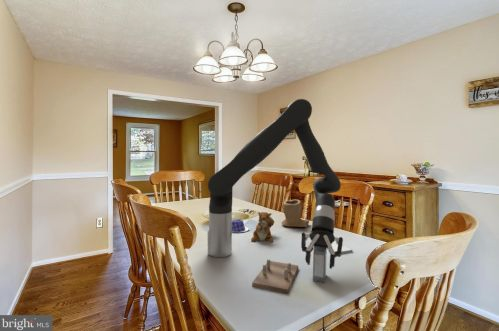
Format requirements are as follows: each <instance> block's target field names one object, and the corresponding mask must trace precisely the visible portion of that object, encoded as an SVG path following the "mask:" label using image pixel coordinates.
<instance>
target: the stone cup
mask: <svg viewBox="0 0 499 331" xmlns="http://www.w3.org/2000/svg"><path fill="white" fill-rule="evenodd" d="M282 211H283V215H284V217H285V219H284V220H283V221H282V222H281V225H282V226H284V227H292V228H293V227H294V228H307V227H308V225H309V224H310V220H308V219H302V218H301V217H302V211H303V204H302V202H301V200H299V199H287V200H285V201H284V202H282Z"/></svg>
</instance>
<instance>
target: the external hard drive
mask: <svg viewBox="0 0 499 331" xmlns="http://www.w3.org/2000/svg"><path fill="white" fill-rule="evenodd" d="M331 245H332V248H333V250H334V252H335V251H337V248H338V245H337V244H336V241H334V242H333V243H332V244H331ZM353 252H354V250H353V249H351V248H349V247H348V246H345V245H342V251H341V255H342V254H349V253H350V254H351V253H353Z"/></svg>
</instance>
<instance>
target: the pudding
mask: <svg viewBox="0 0 499 331" xmlns="http://www.w3.org/2000/svg"><path fill="white" fill-rule="evenodd" d="M247 231H249V227H247V226H245V223H244V220H242V219H238V218H237V219H232V233H245V232H247Z"/></svg>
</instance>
